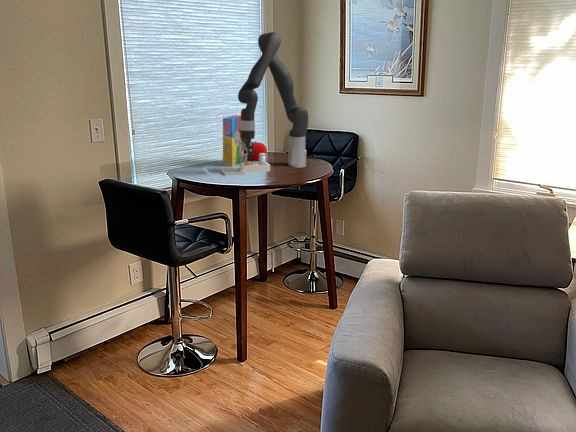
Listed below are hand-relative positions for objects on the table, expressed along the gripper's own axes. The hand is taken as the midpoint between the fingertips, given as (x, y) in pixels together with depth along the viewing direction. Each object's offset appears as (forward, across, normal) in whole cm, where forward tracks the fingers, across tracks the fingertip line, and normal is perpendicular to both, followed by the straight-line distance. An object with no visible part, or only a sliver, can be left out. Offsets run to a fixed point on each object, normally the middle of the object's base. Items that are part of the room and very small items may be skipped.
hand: (247, 160), depth 285 cm
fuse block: (+7, 0, -4) cm, 8 cm away
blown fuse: (+6, 0, 0) cm, 6 cm away
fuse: (+6, 0, -8) cm, 10 cm away
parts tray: (+7, -4, +9) cm, 12 cm away
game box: (+7, +23, +2) cm, 24 cm away
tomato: (+7, +36, -15) cm, 39 cm away
